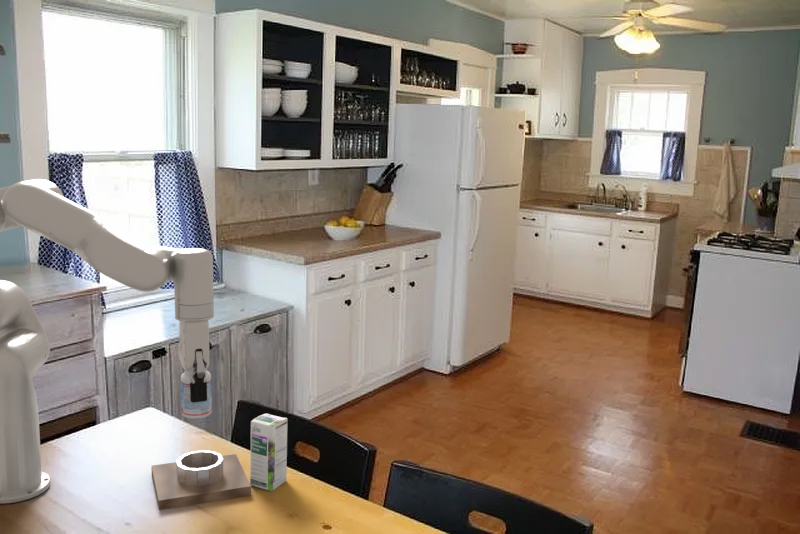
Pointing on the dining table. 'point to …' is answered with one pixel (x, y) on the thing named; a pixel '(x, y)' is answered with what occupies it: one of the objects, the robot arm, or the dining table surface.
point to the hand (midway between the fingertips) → (196, 394)
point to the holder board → (182, 495)
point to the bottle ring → (200, 476)
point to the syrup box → (268, 451)
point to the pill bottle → (195, 408)
